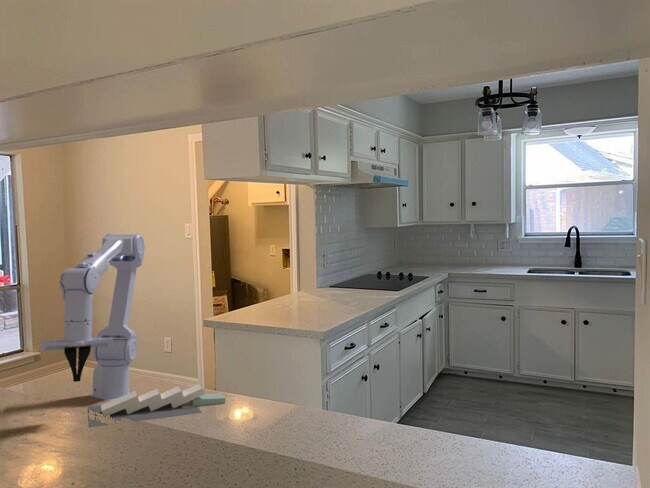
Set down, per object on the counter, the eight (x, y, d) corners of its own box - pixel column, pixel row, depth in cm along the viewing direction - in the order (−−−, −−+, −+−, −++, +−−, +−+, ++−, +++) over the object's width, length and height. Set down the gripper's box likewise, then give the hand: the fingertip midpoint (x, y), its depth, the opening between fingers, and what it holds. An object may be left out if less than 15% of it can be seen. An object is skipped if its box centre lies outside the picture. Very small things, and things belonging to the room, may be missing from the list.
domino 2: (125, 408, 114) (159, 393, 118) (123, 402, 119) (156, 388, 122) (127, 414, 115) (161, 399, 118) (125, 408, 119) (158, 394, 123)
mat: (89, 428, 106) (89, 427, 106) (87, 408, 121) (88, 406, 121) (202, 414, 116) (202, 412, 116) (188, 397, 131) (188, 395, 131)
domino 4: (170, 402, 119) (202, 388, 123) (167, 397, 124) (198, 384, 127) (172, 408, 119) (204, 394, 123) (169, 403, 124) (200, 389, 127)
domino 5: (193, 399, 121) (225, 398, 125) (189, 394, 126) (221, 393, 129) (192, 406, 121) (225, 404, 124) (189, 401, 126) (220, 399, 129)
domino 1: (101, 410, 112) (137, 395, 116) (100, 405, 117) (135, 390, 120) (103, 417, 112) (139, 402, 116) (103, 411, 117) (137, 396, 120)
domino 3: (148, 405, 117) (181, 390, 120) (146, 400, 121) (177, 386, 125) (150, 411, 117) (183, 396, 120) (148, 406, 121) (179, 392, 125)
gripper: (40, 324, 106) (38, 387, 106) (113, 320, 113) (112, 380, 112) (42, 320, 113) (41, 381, 112) (111, 317, 119) (110, 374, 118)
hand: (76, 380), depth 113 cm, fingers closed
